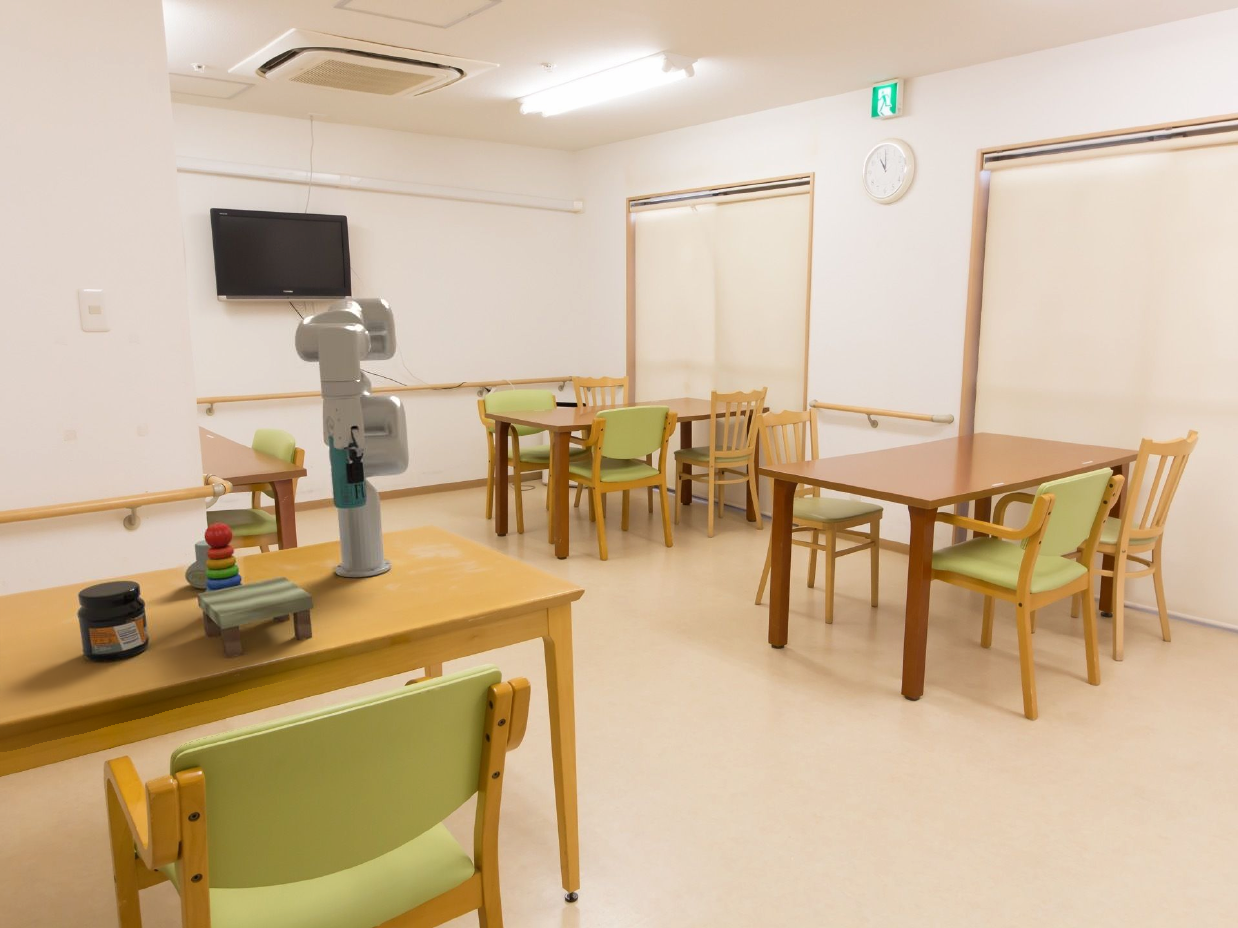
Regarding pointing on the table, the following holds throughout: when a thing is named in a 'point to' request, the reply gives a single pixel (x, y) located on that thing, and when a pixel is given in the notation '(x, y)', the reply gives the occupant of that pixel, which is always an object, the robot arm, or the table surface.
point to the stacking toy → (220, 559)
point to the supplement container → (112, 621)
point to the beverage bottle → (344, 481)
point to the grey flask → (199, 566)
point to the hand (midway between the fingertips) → (348, 479)
